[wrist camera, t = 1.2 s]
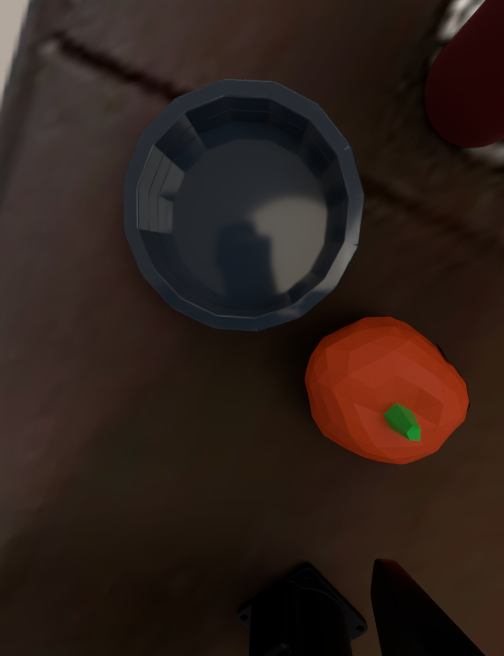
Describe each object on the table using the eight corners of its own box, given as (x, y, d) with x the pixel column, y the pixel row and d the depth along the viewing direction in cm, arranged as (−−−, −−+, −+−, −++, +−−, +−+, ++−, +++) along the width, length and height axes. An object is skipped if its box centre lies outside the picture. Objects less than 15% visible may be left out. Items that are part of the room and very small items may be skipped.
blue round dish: (386, 228, 19) (412, 224, 15) (238, 353, 21) (232, 374, 17) (254, 62, 17) (251, 16, 14) (108, 211, 19) (74, 204, 16)
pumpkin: (342, 284, 20) (377, 301, 13) (460, 358, 20) (547, 407, 14) (274, 388, 21) (276, 447, 15) (385, 453, 22) (433, 537, 15)
